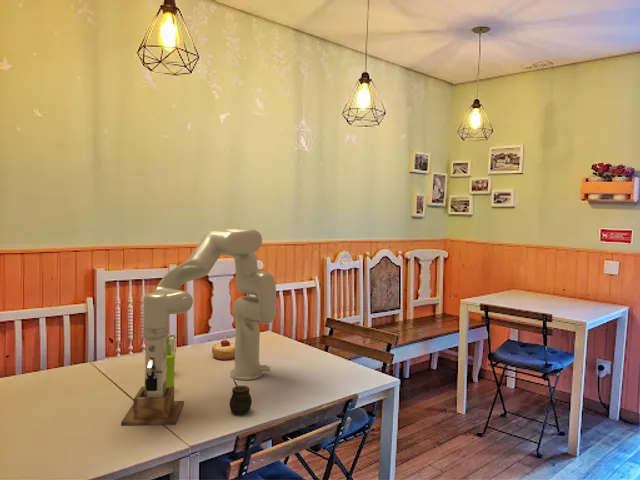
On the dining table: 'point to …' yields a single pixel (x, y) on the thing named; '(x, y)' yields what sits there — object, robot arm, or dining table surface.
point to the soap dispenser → (170, 363)
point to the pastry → (224, 350)
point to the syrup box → (158, 384)
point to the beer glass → (173, 345)
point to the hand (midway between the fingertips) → (155, 384)
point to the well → (154, 409)
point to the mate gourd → (240, 399)
